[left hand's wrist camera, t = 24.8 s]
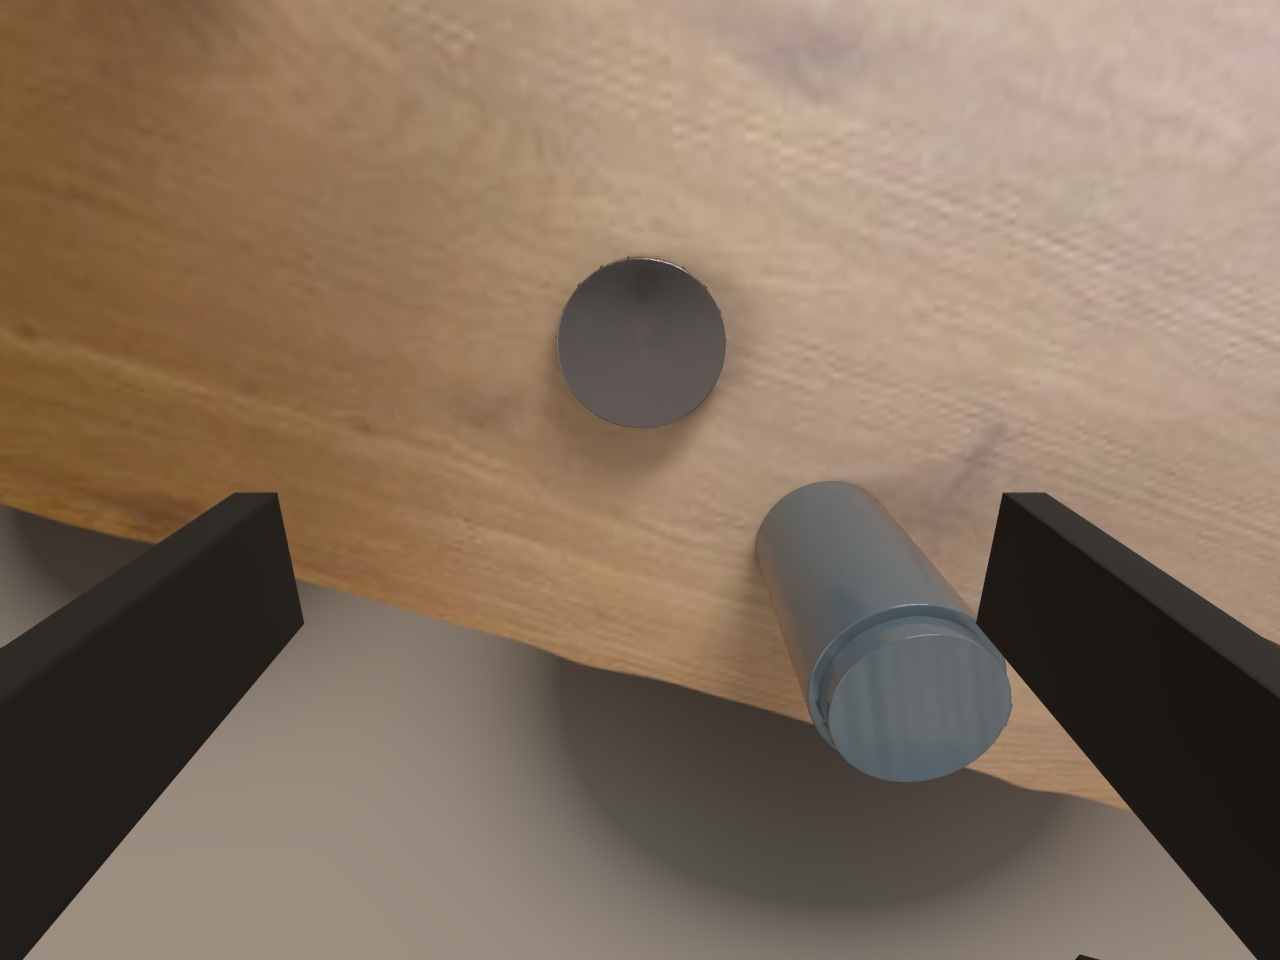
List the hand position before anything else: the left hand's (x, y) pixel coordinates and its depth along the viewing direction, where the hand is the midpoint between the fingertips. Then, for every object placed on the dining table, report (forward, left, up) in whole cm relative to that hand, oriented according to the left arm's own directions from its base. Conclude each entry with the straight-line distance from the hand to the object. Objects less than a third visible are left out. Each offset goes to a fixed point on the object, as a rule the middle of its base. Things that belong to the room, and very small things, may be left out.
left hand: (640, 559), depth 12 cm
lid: (0, 0, -24) cm, 24 cm away
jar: (+16, -6, -26) cm, 31 cm away
